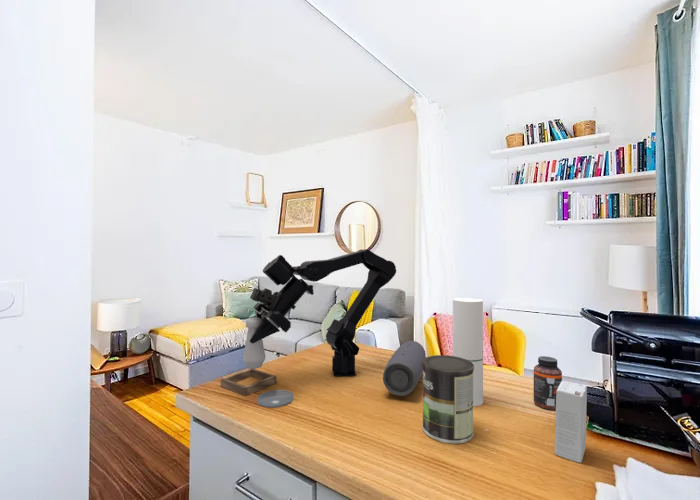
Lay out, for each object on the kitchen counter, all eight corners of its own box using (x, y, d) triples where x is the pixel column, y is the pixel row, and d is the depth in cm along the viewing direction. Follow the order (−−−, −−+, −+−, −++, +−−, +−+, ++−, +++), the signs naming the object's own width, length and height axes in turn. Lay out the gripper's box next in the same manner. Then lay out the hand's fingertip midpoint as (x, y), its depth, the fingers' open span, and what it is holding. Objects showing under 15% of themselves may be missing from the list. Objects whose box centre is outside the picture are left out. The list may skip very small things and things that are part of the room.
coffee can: (427, 444, 66) (427, 370, 66) (418, 418, 76) (418, 354, 76) (481, 445, 65) (481, 371, 65) (465, 418, 76) (465, 355, 76)
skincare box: (559, 441, 67) (559, 379, 67) (587, 449, 64) (587, 384, 64) (553, 455, 62) (553, 388, 62) (583, 465, 59) (583, 395, 59)
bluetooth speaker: (418, 403, 83) (418, 362, 83) (380, 398, 86) (380, 358, 86) (427, 372, 105) (427, 340, 105) (397, 369, 108) (397, 337, 108)
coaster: (295, 391, 90) (295, 389, 90) (291, 407, 81) (291, 404, 81) (261, 392, 90) (261, 390, 90) (253, 408, 81) (253, 405, 81)
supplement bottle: (559, 413, 78) (558, 364, 78) (530, 405, 82) (530, 358, 82) (564, 405, 82) (564, 358, 82) (537, 397, 86) (537, 353, 86)
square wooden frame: (252, 375, 102) (252, 368, 102) (276, 382, 96) (276, 375, 96) (220, 386, 94) (220, 379, 94) (244, 395, 88) (244, 388, 88)
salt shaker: (267, 362, 95) (267, 315, 95) (263, 369, 89) (262, 320, 89) (246, 362, 95) (245, 316, 94) (240, 370, 89) (240, 320, 89)
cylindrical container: (484, 397, 87) (483, 298, 87) (482, 408, 80) (481, 302, 81) (455, 392, 90) (454, 297, 90) (450, 403, 83) (450, 300, 84)
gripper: (260, 275, 102) (221, 315, 97) (278, 279, 85) (232, 329, 80) (285, 299, 106) (250, 339, 100) (308, 308, 89) (266, 357, 84)
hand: (249, 340), depth 91 cm, fingers closed on salt shaker, 3 cm apart
